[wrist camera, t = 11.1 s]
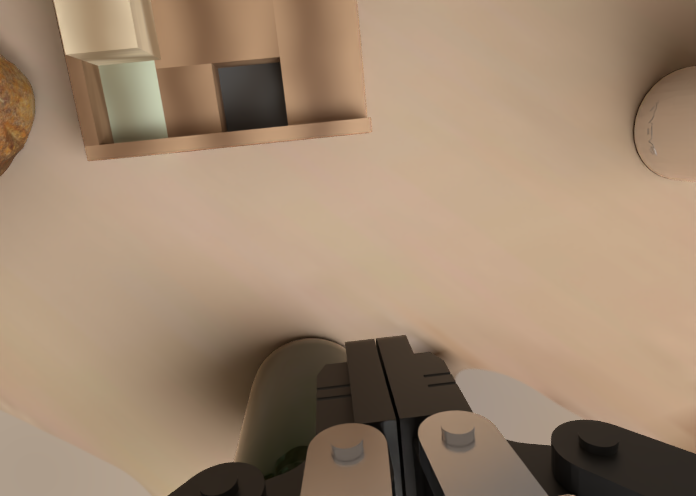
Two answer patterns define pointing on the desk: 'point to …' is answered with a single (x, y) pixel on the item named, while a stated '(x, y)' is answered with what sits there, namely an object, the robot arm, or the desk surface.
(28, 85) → the rough brown rock
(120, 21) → the birch block
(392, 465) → the robot arm
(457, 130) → the desk surface
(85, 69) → the tray
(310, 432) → the dark green wine bottle
